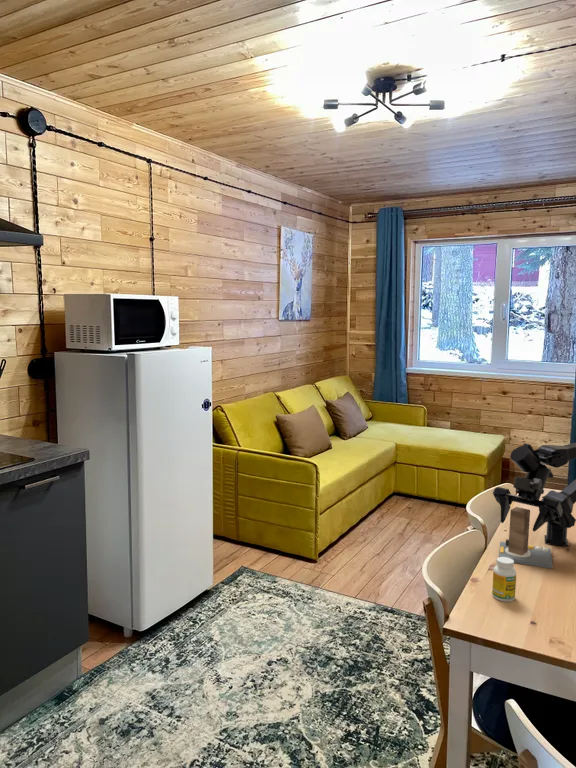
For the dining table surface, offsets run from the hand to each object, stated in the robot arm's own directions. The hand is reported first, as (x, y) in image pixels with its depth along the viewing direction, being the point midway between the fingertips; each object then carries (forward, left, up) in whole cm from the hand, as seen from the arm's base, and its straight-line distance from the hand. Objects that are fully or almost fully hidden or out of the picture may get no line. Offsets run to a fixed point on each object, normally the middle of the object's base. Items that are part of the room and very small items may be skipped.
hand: (517, 526), depth 165 cm
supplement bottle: (+27, -2, -10) cm, 29 cm away
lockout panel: (-2, +3, -9) cm, 10 cm away
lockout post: (-1, +1, -8) cm, 8 cm away
